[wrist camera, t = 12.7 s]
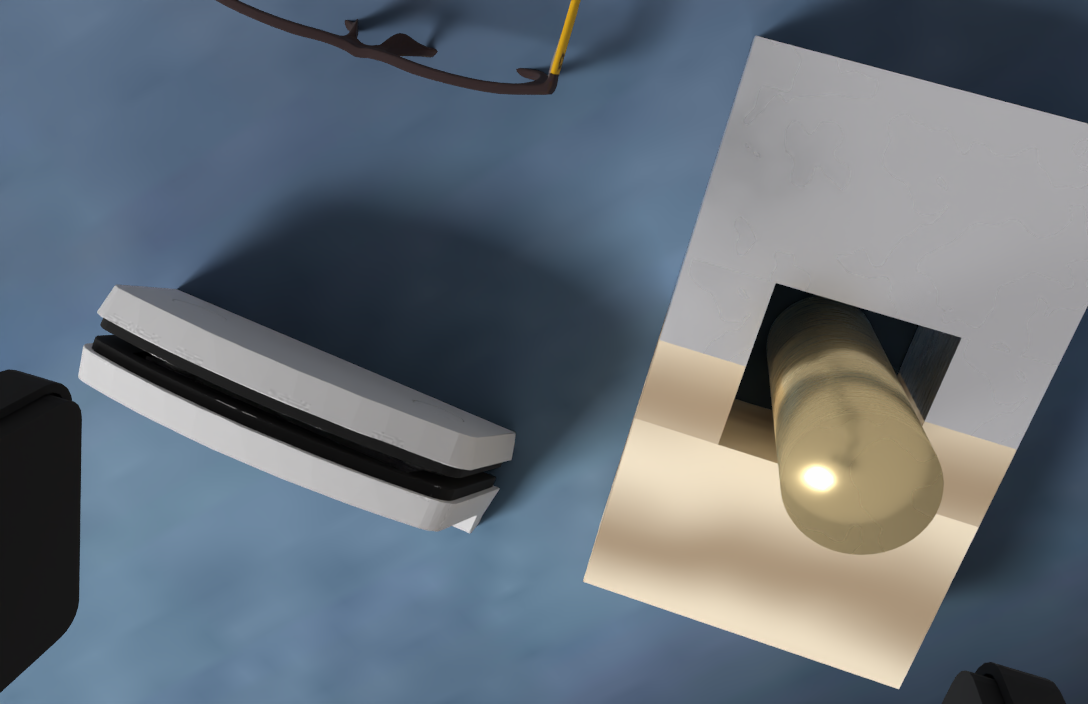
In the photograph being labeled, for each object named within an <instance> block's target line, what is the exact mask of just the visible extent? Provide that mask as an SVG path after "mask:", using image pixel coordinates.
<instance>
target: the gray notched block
mask: <svg viewBox="0 0 1088 704" xmlns="http://www.w3.org/2000/svg"><path fill="white" fill-rule="evenodd" d="M776 283H778V284H781V285H785V286H788V287H791V288H795V289H798V290H802V291H805V292H808V293H812V294H815V295H818V296H822V297H825V298H829V299H832V300H835V301H839V302H842V303H846V304H849V305H852V306H856V307H859V308H863V309H866V310H869V311H873V312H876V313H879V314H883V315H886V316H890V317H893V318H896V319H900V320H903V321H907V322H910V323H913V324H917V325H919V326H918V328H917V330H916V333H915V335H914V338H913V340H912V342H911V345H910V347H909V349H908V352H907V354H906V356H905V359H904V361H903V363H902V366H901V368H900V370H899V373H900V375H901V377H902V379H903V381H904V382H905V384H906V386H907V388H908V390H909V392H910V394H911V396H912V398H913V400H914V402H915V404H916V406H917V408H918V410H919V412H920V414H921V415H922V417H923V419H924V421H925V422H928V423H932V424H935V425H938V426H941V427H945V428H948V429H951V430H954V431H958V432H961V433H964V434H967V435H971V436H974V437H977V438H980V439H984V440H987V441H990V442H993V443H997V444H1000V445H1003V446H1007V447H1010V448H1013V449H1016V450H1017V448H1018V446H1019V444H1020V442H1021V440H1022V438H1023V436H1024V434H1025V432H1026V430H1027V428H1028V426H1029V424H1030V422H1031V420H1032V418H1033V416H1034V414H1035V412H1036V410H1037V408H1038V406H1039V404H1040V402H1041V400H1042V398H1043V396H1044V394H1045V392H1046V390H1047V388H1048V385H1049V383H1050V381H1051V379H1052V377H1053V375H1054V373H1055V371H1056V369H1057V367H1058V365H1059V363H1060V361H1061V359H1062V357H1063V355H1064V353H1065V351H1066V349H1067V347H1068V345H1069V343H1070V341H1071V339H1072V337H1073V335H1074V333H1075V331H1076V329H1077V327H1078V325H1079V323H1080V321H1081V318H1082V316H1083V314H1084V312H1085V310H1086V308H1087V306H1088V124H1087V123H1084V122H1080V121H1076V120H1072V119H1068V118H1065V117H1061V116H1057V115H1053V114H1050V113H1046V112H1042V111H1038V110H1034V109H1031V108H1027V107H1023V106H1019V105H1016V104H1012V103H1008V102H1004V101H1000V100H997V99H993V98H989V97H985V96H982V95H978V94H974V93H970V92H966V91H963V90H959V89H955V88H951V87H948V86H944V85H940V84H936V83H933V82H929V81H925V80H921V79H917V78H914V77H910V76H906V75H902V74H899V73H895V72H891V71H887V70H883V69H880V68H876V67H872V66H868V65H865V64H861V63H857V62H853V61H849V60H846V59H842V58H838V57H834V56H831V55H827V54H823V53H819V52H815V51H812V50H808V49H804V48H800V47H797V46H793V45H789V44H785V43H781V42H778V41H774V40H770V39H766V38H763V37H759V36H755V37H754V39H753V41H752V45H751V48H750V51H749V54H748V57H747V60H746V64H745V67H744V70H743V73H742V76H741V79H740V83H739V86H738V89H737V92H736V95H735V98H734V102H733V105H732V108H731V111H730V114H729V117H728V121H727V124H726V127H725V130H724V133H723V136H722V140H721V143H720V146H719V149H718V152H717V155H716V159H715V162H714V165H713V168H712V171H711V174H710V178H709V181H708V184H707V187H706V190H705V193H704V197H703V200H702V203H701V206H700V209H699V212H698V216H697V219H696V222H695V225H694V228H693V231H692V235H691V238H690V241H689V244H688V247H687V250H686V254H685V257H684V260H683V263H682V266H681V269H680V273H679V276H678V279H677V282H676V285H675V288H674V292H673V295H672V298H671V301H670V304H669V308H668V311H667V315H666V319H665V322H664V326H663V329H662V333H661V336H660V340H661V341H664V342H667V343H671V344H674V345H677V346H680V347H684V348H687V349H690V350H693V351H697V352H700V353H703V354H706V355H710V356H713V357H716V358H720V359H723V360H726V361H729V362H733V363H736V364H739V365H742V366H746V365H747V362H748V359H749V356H750V354H751V351H752V348H753V345H754V342H755V340H756V337H757V334H758V331H759V328H760V326H761V323H762V320H763V317H764V314H765V312H766V309H767V306H768V303H769V301H770V298H771V295H772V292H773V289H774V287H775V284H776Z"/></svg>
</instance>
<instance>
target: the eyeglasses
mask: <svg viewBox="0 0 1088 704" xmlns="http://www.w3.org/2000/svg"><path fill="white" fill-rule="evenodd" d="M216 1H218V2H220V3H221V4H223V5H225V6H227V7H229V8H231V9H233V10H235V11H237V12H239V13H242V14H244V15H246V16H248V17H251V18H253V19H255V20H258V21H260V22H263V23H265V24H268V25H270V26H273V27H275V28H278V29H281V30H283V31H286V32H289V33H292V34H295V35H299V36H303V37H307V38H311V39H315V40H318V41H322V42H325V43H328V44H331V45H333V46H336V47H338V48H341V49H343V50H345V51H347V52H348V53H350V54H351V55H353V56H355V57H360V58H370V59H375V60H379V61H382V62H385V63H388V64H390V65H393V66H395V67H397V68H399V69H402V70H404V71H407V72H409V73H412V74H415V75H418V76H421V77H425V78H428V79H432V80H435V81H439V82H443V83H446V84H451V85H455V86H459V87H463V88H468V89H473V90H478V91H483V92H490V93H498V94H515V95H547V94H552V93H553V92H554V91H555V89H556V86H557V82H558V76H559V73H560V69H561V66H562V63H563V59H564V56H565V52H566V49H567V45H568V42H569V39H570V35H571V32H572V28H573V25H574V22H575V18H576V15H577V11H578V7H579V3H580V0H571V3H570V6H569V10H568V13H567V17H566V20H565V24H564V27H563V30H562V34H561V37H560V40H559V42H558V45H557V48H556V51H555V53H554V56H553V59H552V62H551V66H550V70H549V75H547V74H545V73H544V72H541V71H538V70H533V69H525V68H519V69H516V70H517V72H518V73H519V74H520V75H521V76H523V77H525V78H529V79H533V80H535V81H532V82H527V83H521V84H512V83H498V82H490V81H483V80H478V79H472V78H467V77H463V76H459V75H455V74H451V73H447V72H444V71H440V70H437V69H433V68H430V67H427V66H424V65H421V64H418V63H415V62H413V61H410V60H407V59H405V58H402V57H400V56H422V57H433V56H434V55H435V54H436V53H437V50H436V49H434V48H430V47H426V46H424V45H422V44H420V43H418V42H416V41H415V40H413V39H412V38H411V37H409V36H408V35H406V34H401V33H399V34H395V35H393V36H392V37H390V38H389V39H387V40H386V41H385V42H383V43H382V44H381V45H374V46H370V45H365V44H363V43H361V42H360V41H359V40H358V39H357V36H358V19H357V20H356V22H351V21H349V20H345V25H346V28H347V29H348V30H349V31H350V32H349V34H347V35H345V36H340V35H335V34H332V33H329V32H326V31H323V30H319V29H316V28H312V27H308V26H305V25H302V24H298V23H295V22H292V21H289V20H286V19H283V18H280V17H277V16H274V15H272V14H269V13H266V12H264V11H261V10H259V9H256V8H254V7H252V6H249V5H247V4H245V3H242V2H240V1H238V0H216Z"/></svg>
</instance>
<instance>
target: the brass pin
mask: <svg viewBox="0 0 1088 704" xmlns="http://www.w3.org/2000/svg"><path fill="white" fill-rule="evenodd" d="M767 360H768V370H769V380H770V390H771V400H772V410H773V420H774V430H775V440H776V450H777V459H778V469H779V479H780V489H781V496H782V500H783V504H784V507H785V509H786V511H787V513H788V515H789V517H790V518H791V520H792V522H793V523H794V524H795V525H796V527H797V528H798V529H799V530H800V531H801V532H802V533H803V534H804V535H806V536H807V537H808V538H810V539H811V540H812V541H814V542H816V543H817V544H819V545H821V546H823V547H826V548H828V549H831V550H833V551H837V552H841V553H846V554H853V555H869V554H877V553H883V552H886V551H890V550H893V549H896V548H898V547H900V546H902V545H904V544H906V543H908V542H909V541H911V540H913V539H914V538H915V537H917V536H918V535H919V534H920V533H921V532H922V531H923V530H924V529H925V528H926V527H927V526H928V525H929V524H930V522H931V521H932V520H933V518H934V516H935V515H936V513H937V511H938V509H939V506H940V504H941V500H942V496H943V488H944V480H943V472H942V468H941V464H940V462H939V460H938V457H937V455H936V453H935V451H934V449H933V447H932V445H931V443H930V441H929V439H928V437H927V435H926V433H925V431H924V429H923V427H922V425H921V423H920V421H919V419H918V417H917V415H916V413H915V411H914V409H913V407H912V405H911V403H910V401H909V399H908V397H907V395H906V393H905V391H904V389H903V387H902V385H901V383H900V381H899V379H898V377H897V376H896V374H895V372H894V370H893V368H892V366H891V364H890V362H889V360H888V358H887V356H886V354H885V352H884V350H883V348H882V346H881V344H880V342H879V340H878V338H877V336H876V334H875V332H874V330H873V328H872V326H871V324H870V322H869V321H868V319H867V317H866V316H865V315H864V314H863V313H862V312H861V311H860V310H859V309H858V308H857V307H855V306H852V305H849V304H846V303H842V302H839V301H835V300H832V299H829V298H825V297H822V296H816V297H810V298H806V299H803V300H800V301H798V302H796V303H794V304H792V305H790V306H789V307H788V308H786V309H785V310H784V311H783V312H782V313H781V314H780V315H779V316H778V317H777V318H776V320H775V321H774V323H773V324H772V326H771V329H770V331H769V334H768V338H767Z"/></svg>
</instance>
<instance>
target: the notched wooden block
mask: <svg viewBox="0 0 1088 704" xmlns="http://www.w3.org/2000/svg"><path fill="white" fill-rule="evenodd" d="M668 308H669V307H668ZM666 315H667V314H666ZM665 319H666V317H665ZM664 322H665V320H664ZM663 326H664V323H663ZM663 326H662V329H663ZM661 333H662V330H661ZM661 333H660V336H661ZM660 336H659V339H658V342H657V345H656V349H655V352H654V355H653V358H652V361H651V364H650V368H649V371H648V374H647V377H646V380H645V383H644V387H643V390H642V393H641V396H640V399H639V402H638V406H637V409H636V412H635V415H634V418H633V421H632V425H631V428H630V431H629V434H628V437H627V440H626V444H625V447H624V450H623V453H622V456H621V459H620V462H619V466H618V469H617V472H616V475H615V478H614V481H613V485H612V488H611V491H610V494H609V497H608V500H607V504H606V507H605V510H604V513H603V516H602V520H601V523H600V526H599V530H598V533H597V536H596V540H595V543H594V546H593V550H592V553H591V557H590V560H589V563H588V567H587V570H586V573H585V577H584V580H583V582H586V583H589V584H592V585H595V586H598V587H600V588H603V589H606V590H609V591H612V592H615V593H618V594H621V595H624V596H627V597H630V598H633V599H636V600H639V601H642V602H645V603H647V604H650V605H653V606H656V607H659V608H662V609H665V610H668V611H671V612H674V613H677V614H680V615H683V616H686V617H689V618H692V619H694V620H697V621H700V622H703V623H706V624H709V625H712V626H715V627H718V628H721V629H724V630H727V631H730V632H733V633H736V634H738V635H741V636H744V637H747V638H750V639H753V640H756V641H759V642H762V643H765V644H768V645H771V646H774V647H777V648H780V649H783V650H785V651H788V652H791V653H794V654H797V655H800V656H803V657H806V658H809V659H812V660H815V661H818V662H821V663H824V664H827V665H830V666H832V667H835V668H838V669H841V670H844V671H847V672H850V673H853V674H856V675H859V676H862V677H865V678H868V679H871V680H874V681H877V682H879V683H882V684H885V685H888V686H891V687H894V688H897V689H899V688H900V686H901V684H902V682H903V680H904V678H905V676H906V674H907V672H908V670H909V668H910V666H911V664H912V662H913V660H914V658H915V656H916V654H917V652H918V649H919V647H920V645H921V643H922V641H923V639H924V637H925V635H926V633H927V631H928V629H929V627H930V625H931V623H932V621H933V619H934V617H935V615H936V613H937V611H938V609H939V607H940V605H941V603H942V601H943V599H944V597H945V595H946V593H947V591H948V589H949V587H950V584H951V582H952V580H953V578H954V576H955V574H956V572H957V570H958V568H959V566H960V564H961V562H962V560H963V558H964V556H965V554H966V552H967V550H968V548H969V546H970V544H971V542H972V540H973V538H974V536H975V534H976V532H977V530H978V528H979V526H980V524H981V522H982V520H983V517H984V515H985V513H986V511H987V509H988V507H989V505H990V503H991V501H992V499H993V497H994V495H995V493H996V491H997V489H998V487H999V485H1000V483H1001V481H1002V479H1003V477H1004V475H1005V473H1006V471H1007V469H1008V467H1009V465H1010V463H1011V461H1012V459H1013V457H1014V455H1015V452H1016V449H1013V448H1010V447H1007V446H1003V445H1000V444H997V443H993V442H990V441H987V440H984V439H980V438H977V437H974V436H971V435H967V434H964V433H961V432H958V431H954V430H951V429H948V428H945V427H941V426H938V425H935V424H932V423H928V422H925V421H924V419H923V417H922V415H921V414H920V412H919V410H918V408H917V406H916V404H915V402H914V400H913V398H912V396H911V394H910V392H909V390H908V388H907V386H906V384H905V382H904V381H903V379H902V377H901V375H900V373H898V375H897V377H898V379H899V381H900V383H901V385H902V387H903V389H904V391H905V393H906V395H907V397H908V399H909V401H910V403H911V405H912V407H913V409H914V411H915V413H916V415H917V417H918V419H919V421H920V423H921V425H922V427H923V429H924V431H925V433H926V435H927V437H928V439H929V441H930V443H931V445H932V447H933V449H934V451H935V453H936V455H937V457H938V460H939V462H940V464H941V468H942V472H943V480H944V488H943V496H942V500H941V504H940V506H939V509H938V511H937V513H936V515H935V516H934V518H933V520H932V521H931V522H930V524H929V525H928V526H927V527H926V528H925V529H924V530H923V531H922V532H921V533H920V534H919V535H918V536H917V537H915V538H914V539H913V540H911V541H909V542H908V543H906V544H904V545H902V546H900V547H898V548H896V549H893V550H890V551H886V552H883V553H877V554H869V555H853V554H846V553H841V552H837V551H833V550H831V549H828V548H826V547H823V546H821V545H819V544H817V543H816V542H814V541H812V540H811V539H810V538H808V537H807V536H806V535H804V534H803V533H802V532H801V531H800V530H799V529H798V528H797V527H796V525H795V524H794V523H793V522H792V520H791V518H790V517H789V515H788V513H787V511H786V509H785V507H784V504H783V500H782V496H781V489H780V479H779V469H778V459H777V450H776V440H775V430H774V420H773V410H770V409H766V408H763V407H760V406H757V405H753V404H750V403H747V402H744V401H741V400H737V399H734V398H735V396H736V393H737V390H738V387H739V384H740V382H741V379H742V376H743V373H744V370H745V368H746V366H742V365H739V364H736V363H733V362H729V361H726V360H723V359H720V358H716V357H713V356H710V355H706V354H703V353H700V352H697V351H693V350H690V349H687V348H684V347H680V346H677V345H674V344H671V343H667V342H664V341H661V340H660Z"/></svg>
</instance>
